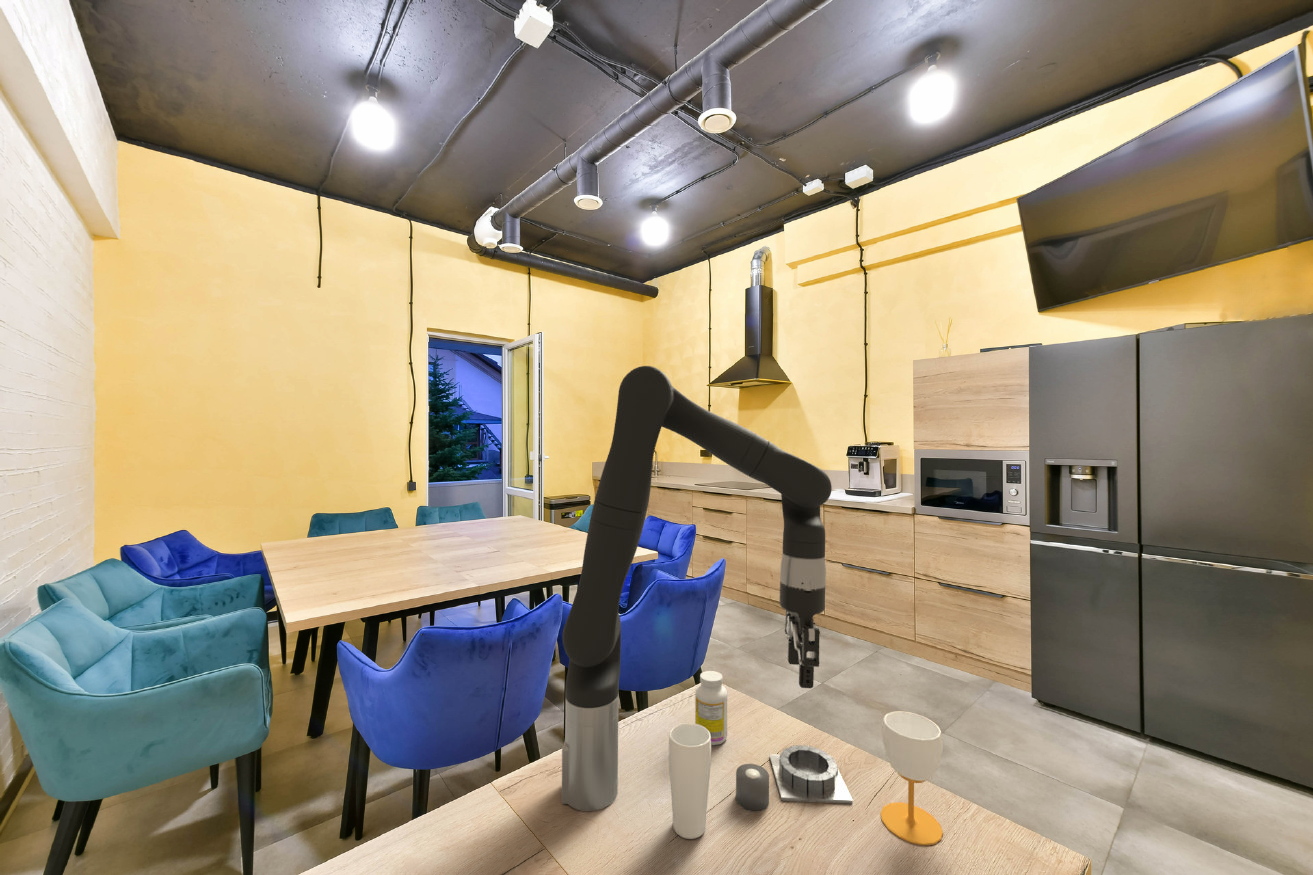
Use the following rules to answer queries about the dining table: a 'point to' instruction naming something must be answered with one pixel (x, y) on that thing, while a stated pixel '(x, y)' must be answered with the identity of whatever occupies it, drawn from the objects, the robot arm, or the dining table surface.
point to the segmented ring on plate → (808, 776)
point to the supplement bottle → (712, 706)
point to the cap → (752, 787)
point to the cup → (912, 773)
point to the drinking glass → (689, 778)
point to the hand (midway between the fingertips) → (799, 674)
